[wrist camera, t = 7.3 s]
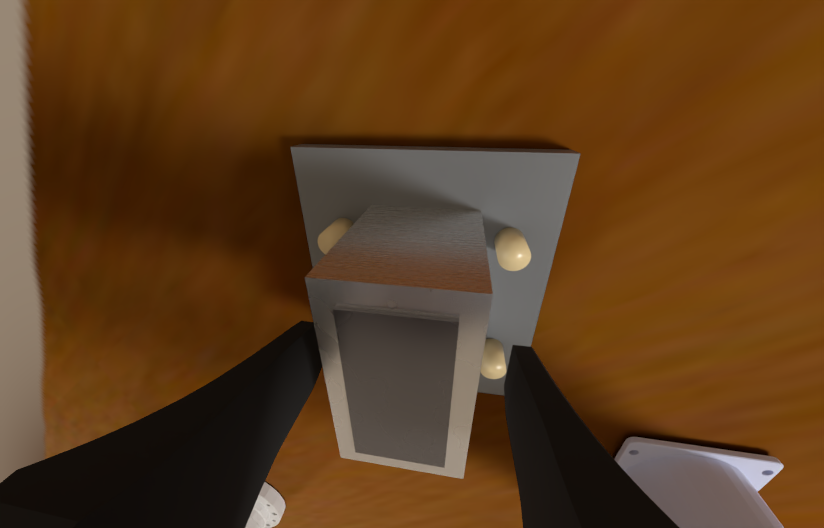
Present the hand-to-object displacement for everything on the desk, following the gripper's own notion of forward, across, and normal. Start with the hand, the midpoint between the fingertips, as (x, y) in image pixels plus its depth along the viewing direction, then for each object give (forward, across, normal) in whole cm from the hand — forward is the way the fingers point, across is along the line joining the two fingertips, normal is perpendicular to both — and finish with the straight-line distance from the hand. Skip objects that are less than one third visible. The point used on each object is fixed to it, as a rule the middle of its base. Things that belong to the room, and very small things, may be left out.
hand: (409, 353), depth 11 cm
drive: (+4, 0, 0) cm, 4 cm away
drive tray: (+5, 0, 0) cm, 5 cm away
